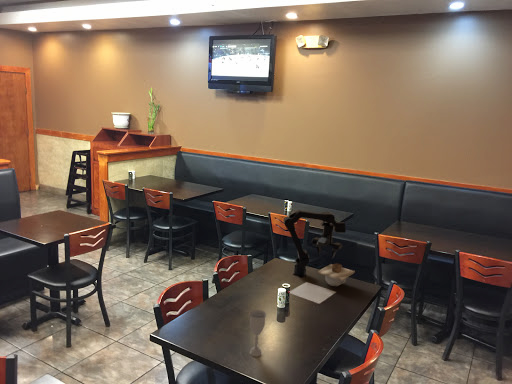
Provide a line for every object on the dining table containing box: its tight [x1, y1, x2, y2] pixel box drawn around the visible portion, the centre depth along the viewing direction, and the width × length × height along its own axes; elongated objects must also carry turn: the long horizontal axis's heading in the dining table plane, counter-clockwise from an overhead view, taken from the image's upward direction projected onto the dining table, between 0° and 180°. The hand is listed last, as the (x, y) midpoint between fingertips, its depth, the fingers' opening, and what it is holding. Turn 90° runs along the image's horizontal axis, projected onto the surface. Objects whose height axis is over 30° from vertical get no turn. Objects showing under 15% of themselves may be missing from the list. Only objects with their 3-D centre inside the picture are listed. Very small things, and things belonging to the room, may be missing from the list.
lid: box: [317, 262, 355, 281], centre depth 246 cm, size 16×16×5 cm
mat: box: [289, 281, 337, 305], centre depth 236 cm, size 20×20×1 cm
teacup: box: [324, 275, 347, 287], centre depth 247 cm, size 14×11×8 cm
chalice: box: [248, 309, 267, 357], centre depth 173 cm, size 7×7×18 cm
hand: (325, 256), depth 259 cm, fingers open, 9 cm apart
